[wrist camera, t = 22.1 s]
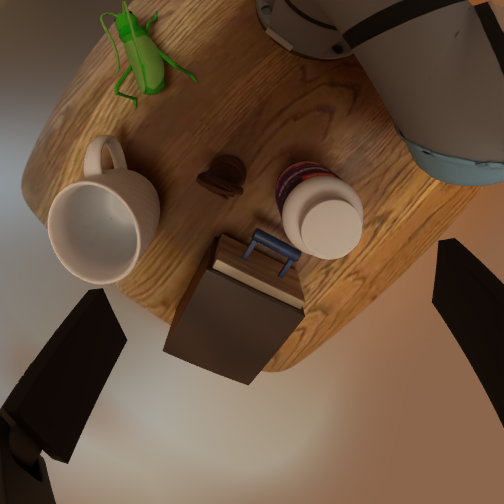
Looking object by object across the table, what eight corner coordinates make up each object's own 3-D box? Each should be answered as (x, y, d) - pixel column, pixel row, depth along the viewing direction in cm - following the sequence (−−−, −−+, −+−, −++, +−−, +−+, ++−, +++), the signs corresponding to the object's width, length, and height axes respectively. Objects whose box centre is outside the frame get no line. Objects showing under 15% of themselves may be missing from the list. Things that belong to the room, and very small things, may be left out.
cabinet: (214, 236, 42) (206, 269, 33) (295, 276, 45) (305, 316, 36) (176, 309, 47) (162, 351, 38) (248, 341, 49) (248, 385, 41)
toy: (170, 5, 29) (142, -23, 20) (198, 84, 33) (175, 72, 24) (111, 34, 30) (71, 17, 21) (136, 111, 35) (98, 110, 26)
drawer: (237, 206, 39) (234, 227, 32) (313, 247, 42) (326, 274, 35) (184, 303, 45) (174, 337, 38) (252, 334, 48) (252, 369, 40)
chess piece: (238, 196, 40) (235, 221, 31) (200, 183, 39) (185, 204, 30) (251, 162, 38) (251, 177, 29) (212, 149, 37) (200, 159, 28)
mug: (88, 138, 36) (31, 152, 24) (164, 125, 36) (125, 129, 24) (105, 241, 42) (62, 286, 30) (177, 236, 42) (150, 284, 30)
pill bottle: (317, 148, 37) (354, 166, 24) (345, 202, 40) (388, 244, 27) (262, 180, 39) (268, 214, 26) (293, 231, 42) (312, 286, 29)
